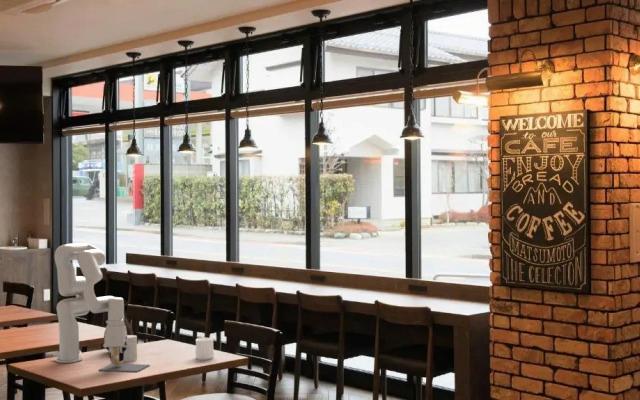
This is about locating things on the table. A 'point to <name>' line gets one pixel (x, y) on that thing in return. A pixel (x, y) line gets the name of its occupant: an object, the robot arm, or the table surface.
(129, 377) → the table surface
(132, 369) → the mat
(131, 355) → the cup
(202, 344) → the cup
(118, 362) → the block
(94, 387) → the table surface
